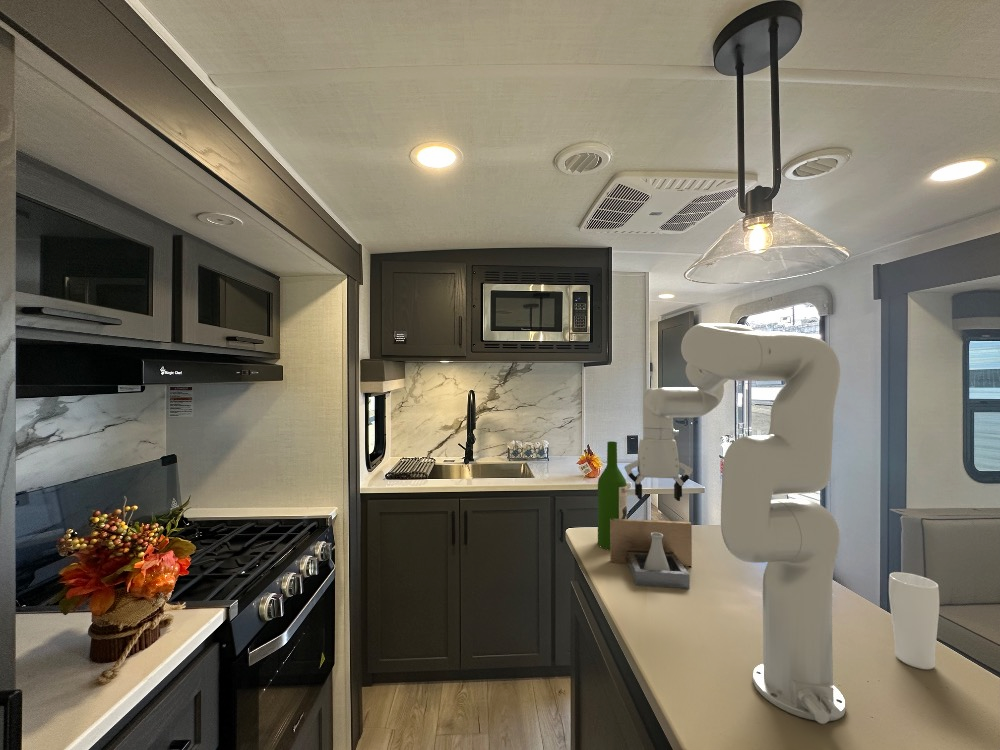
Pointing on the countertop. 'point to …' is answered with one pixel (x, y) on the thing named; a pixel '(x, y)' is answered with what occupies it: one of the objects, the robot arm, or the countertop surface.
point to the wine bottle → (610, 496)
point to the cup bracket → (634, 546)
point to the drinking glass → (914, 618)
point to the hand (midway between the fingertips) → (658, 498)
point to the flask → (656, 555)
